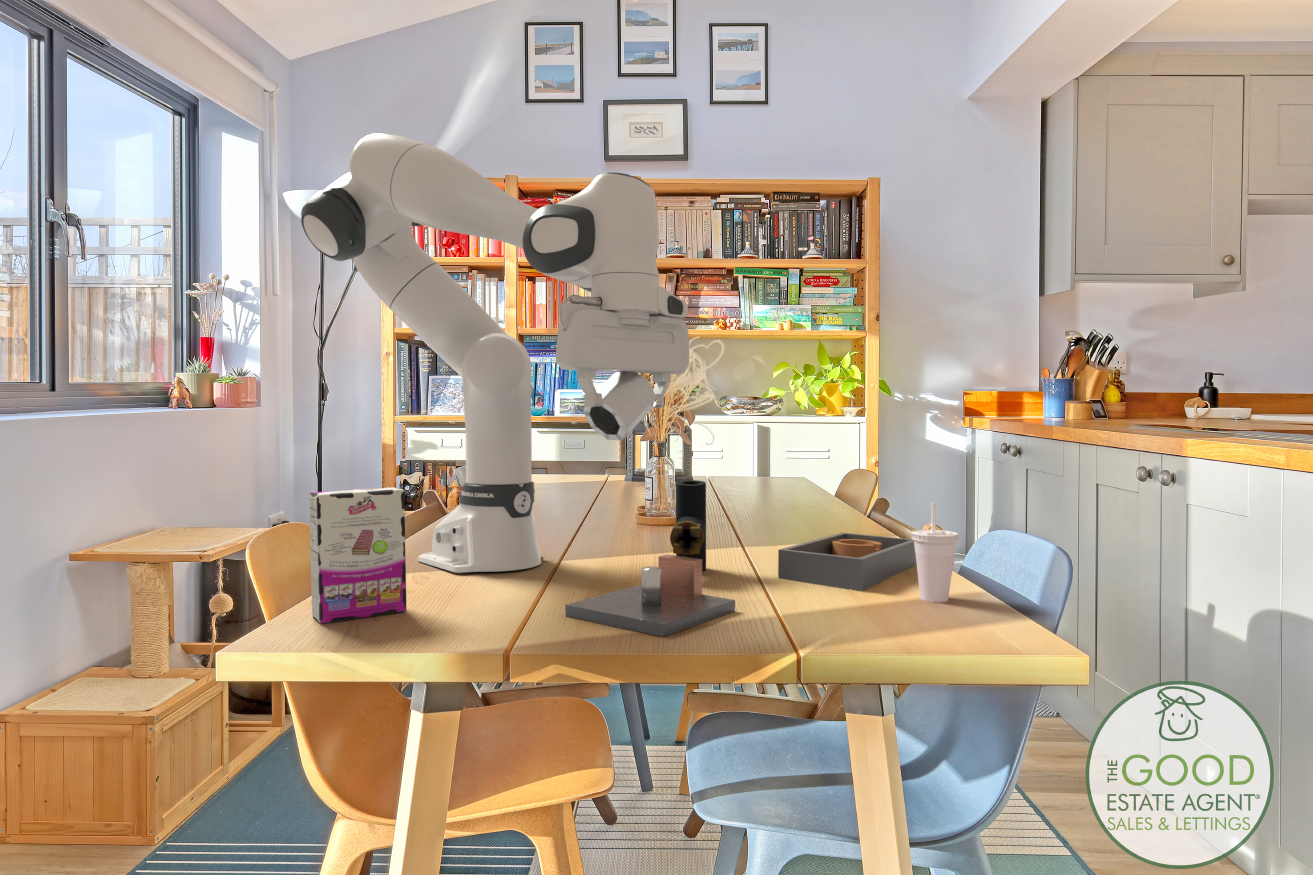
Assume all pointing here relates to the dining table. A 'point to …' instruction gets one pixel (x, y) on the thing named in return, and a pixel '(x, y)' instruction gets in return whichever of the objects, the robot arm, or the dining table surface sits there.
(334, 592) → the candy bar box
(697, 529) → the pipe connector
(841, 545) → the brown oblong hollow piece
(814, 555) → the parts corral
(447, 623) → the dining table surface
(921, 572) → the smoothie
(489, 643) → the dining table surface
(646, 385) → the octagonal handled mug
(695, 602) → the grey square stand
